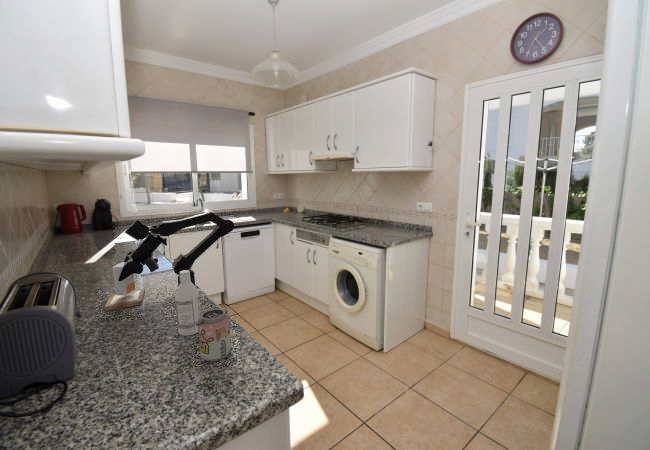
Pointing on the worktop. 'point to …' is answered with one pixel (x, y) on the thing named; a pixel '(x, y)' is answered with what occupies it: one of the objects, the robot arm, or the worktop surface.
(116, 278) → the skincare box
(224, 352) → the beverage can
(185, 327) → the bath foam
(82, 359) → the worktop surface
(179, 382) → the worktop surface
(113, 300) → the wooden picture frame
